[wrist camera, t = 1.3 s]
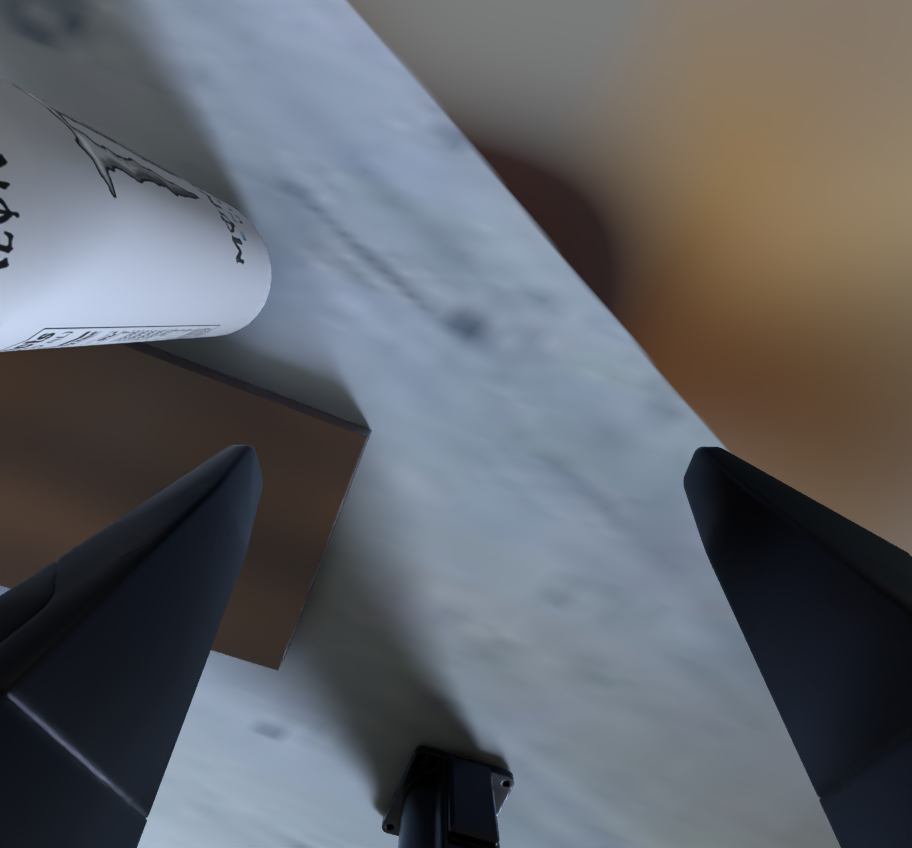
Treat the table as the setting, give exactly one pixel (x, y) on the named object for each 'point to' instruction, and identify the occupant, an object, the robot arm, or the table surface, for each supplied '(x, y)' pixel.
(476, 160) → the table surface
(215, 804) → the table surface
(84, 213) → the energy drink can
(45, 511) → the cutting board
